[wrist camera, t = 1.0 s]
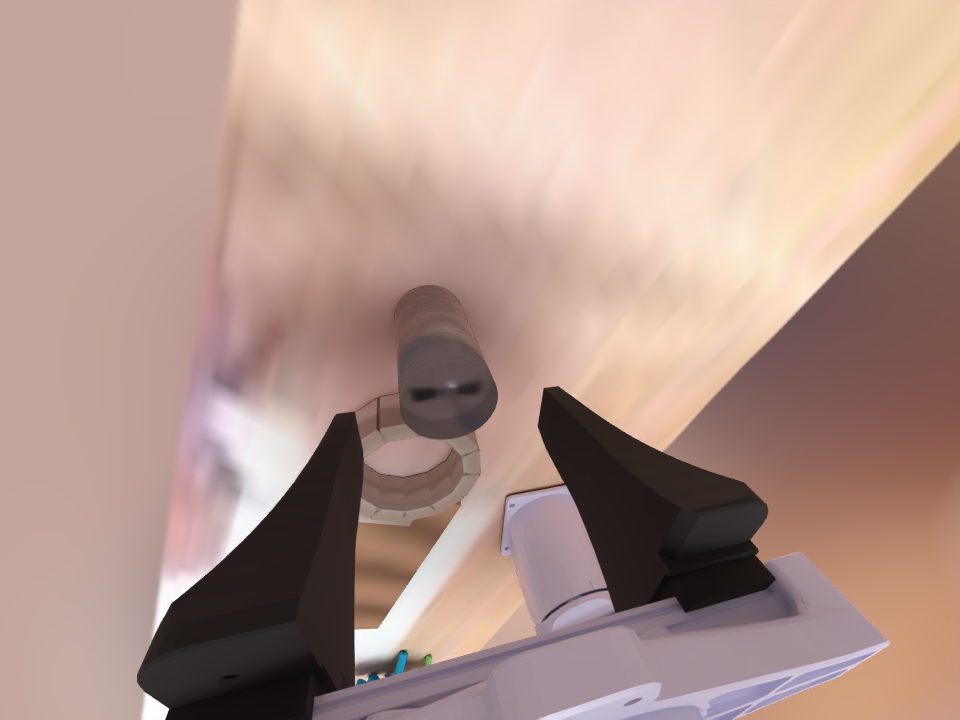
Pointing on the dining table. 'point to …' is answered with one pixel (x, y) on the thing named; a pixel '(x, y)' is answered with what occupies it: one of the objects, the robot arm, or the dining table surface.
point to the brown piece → (402, 511)
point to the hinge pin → (440, 366)
